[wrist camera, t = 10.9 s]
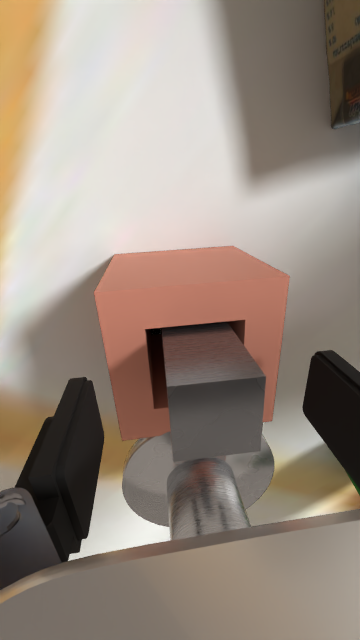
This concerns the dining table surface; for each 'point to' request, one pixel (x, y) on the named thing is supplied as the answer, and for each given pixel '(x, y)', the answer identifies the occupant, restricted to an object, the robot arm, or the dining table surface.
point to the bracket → (183, 321)
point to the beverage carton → (343, 60)
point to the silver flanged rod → (194, 487)
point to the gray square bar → (212, 392)
